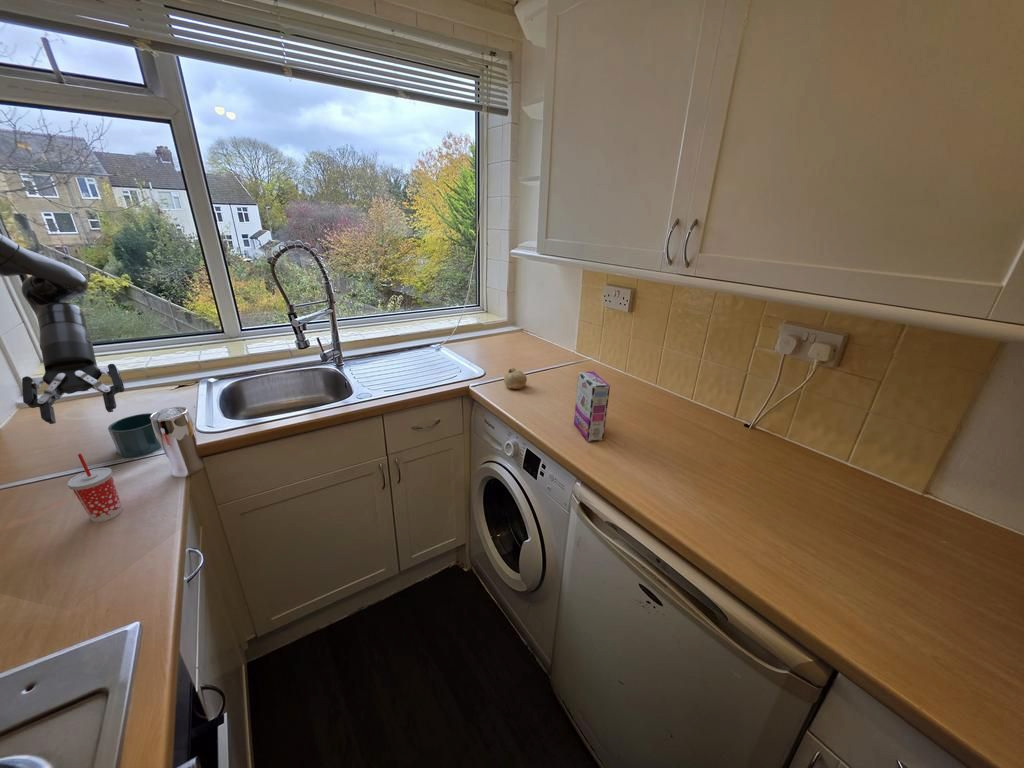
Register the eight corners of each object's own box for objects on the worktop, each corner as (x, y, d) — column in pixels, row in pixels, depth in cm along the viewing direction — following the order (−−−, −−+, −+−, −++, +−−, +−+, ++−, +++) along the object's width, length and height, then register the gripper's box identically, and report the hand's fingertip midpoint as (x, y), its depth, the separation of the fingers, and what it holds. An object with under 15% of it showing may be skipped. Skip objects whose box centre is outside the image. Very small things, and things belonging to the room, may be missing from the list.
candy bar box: (604, 441, 110) (611, 385, 104) (587, 442, 109) (592, 386, 103) (589, 422, 120) (594, 370, 114) (573, 423, 119) (577, 371, 113)
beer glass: (173, 482, 91) (151, 423, 85) (167, 470, 95) (145, 413, 89) (210, 469, 96) (191, 412, 90) (202, 458, 100) (184, 403, 94)
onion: (518, 381, 149) (519, 363, 146) (530, 388, 142) (531, 370, 140) (499, 385, 145) (499, 367, 142) (511, 393, 139) (511, 374, 136)
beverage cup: (135, 506, 83) (110, 448, 78) (102, 527, 78) (72, 465, 72) (112, 502, 84) (85, 444, 79) (77, 522, 79) (46, 461, 74)
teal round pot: (133, 466, 96) (120, 435, 93) (112, 456, 100) (99, 426, 97) (178, 447, 104) (168, 418, 101) (157, 438, 108) (147, 410, 105)
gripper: (118, 351, 93) (132, 414, 90) (27, 363, 85) (39, 433, 81) (107, 334, 88) (122, 400, 84) (8, 345, 79) (20, 419, 75)
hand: (81, 416), depth 83 cm, fingers open, 8 cm apart
